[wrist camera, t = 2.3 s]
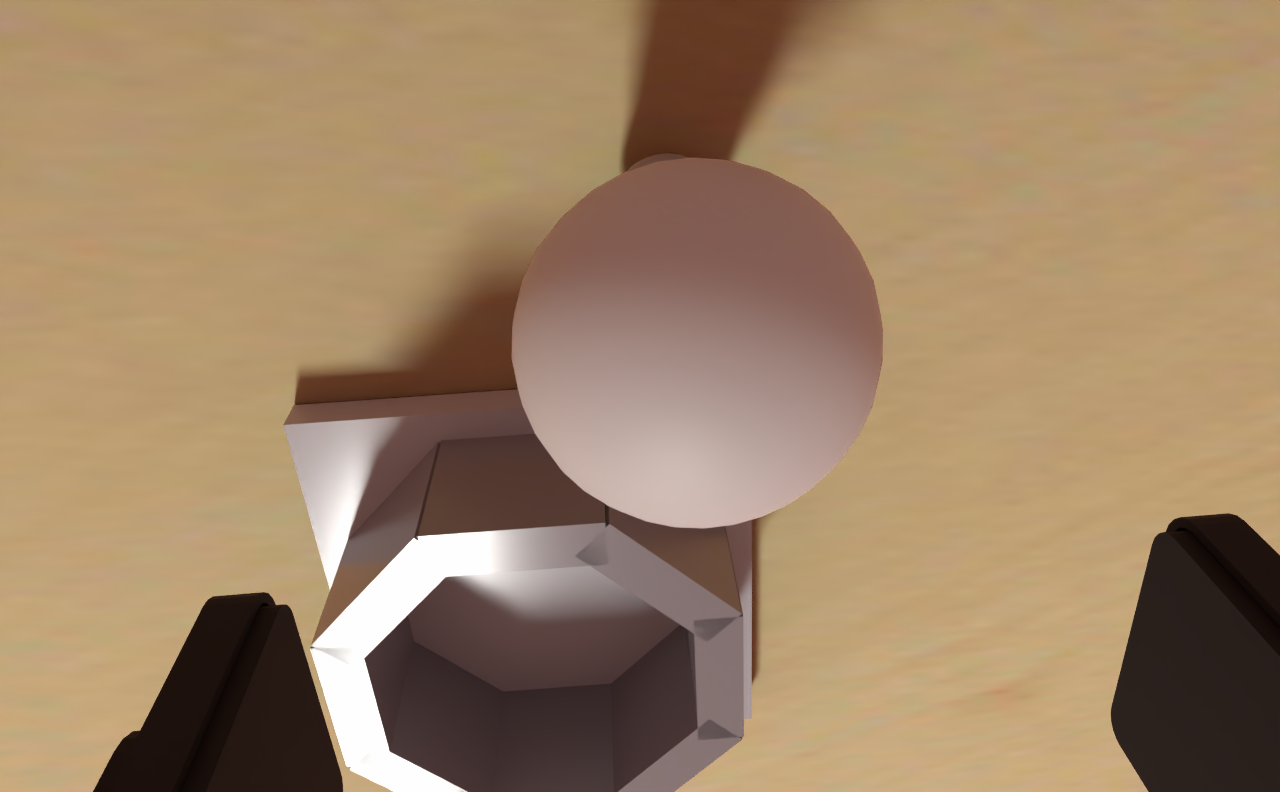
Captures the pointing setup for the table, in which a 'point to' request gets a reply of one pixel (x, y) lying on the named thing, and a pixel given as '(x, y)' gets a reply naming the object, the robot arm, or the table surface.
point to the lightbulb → (697, 342)
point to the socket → (511, 609)
